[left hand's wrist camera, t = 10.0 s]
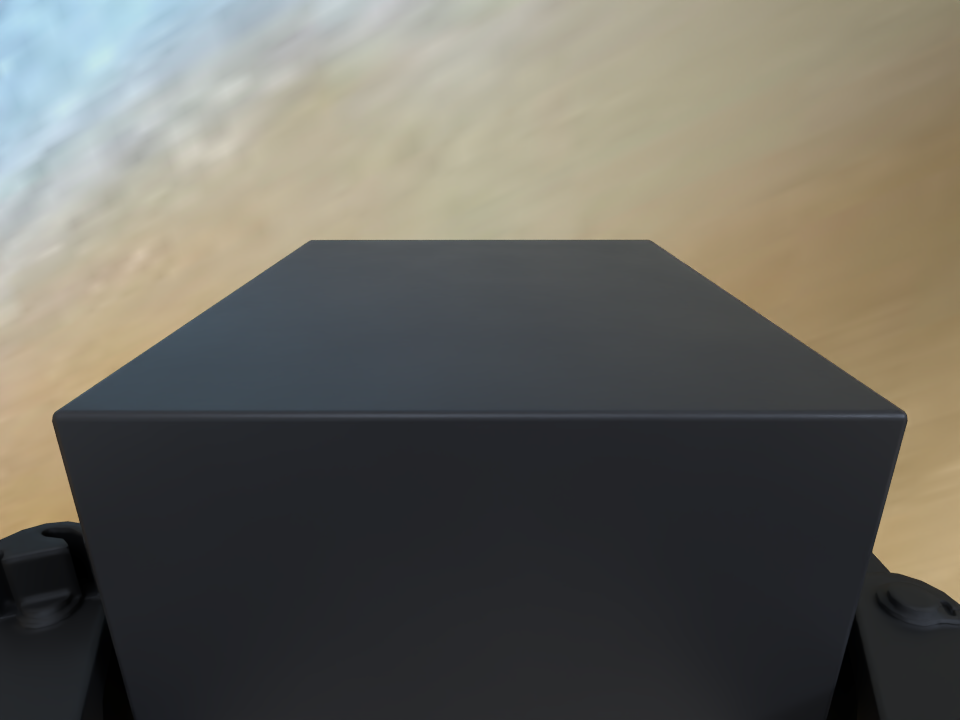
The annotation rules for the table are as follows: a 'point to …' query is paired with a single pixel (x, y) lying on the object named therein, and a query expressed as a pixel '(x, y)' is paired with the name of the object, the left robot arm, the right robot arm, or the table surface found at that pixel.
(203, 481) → the box
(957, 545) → the table surface
